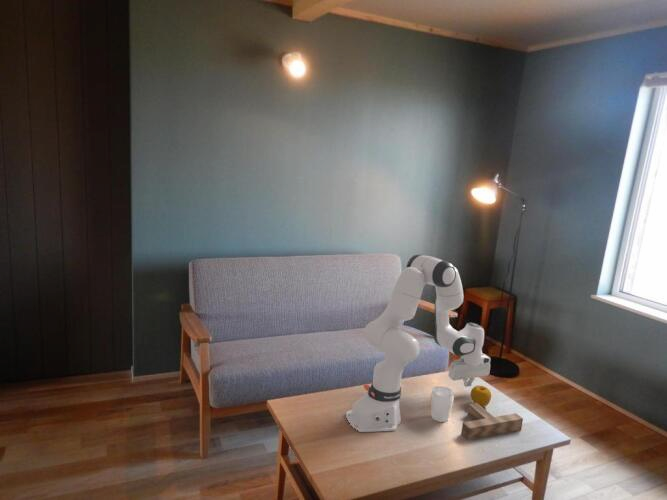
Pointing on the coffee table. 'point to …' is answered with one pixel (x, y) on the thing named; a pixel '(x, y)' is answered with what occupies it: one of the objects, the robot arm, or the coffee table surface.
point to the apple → (481, 395)
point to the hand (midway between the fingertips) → (467, 385)
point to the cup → (441, 403)
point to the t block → (488, 423)
